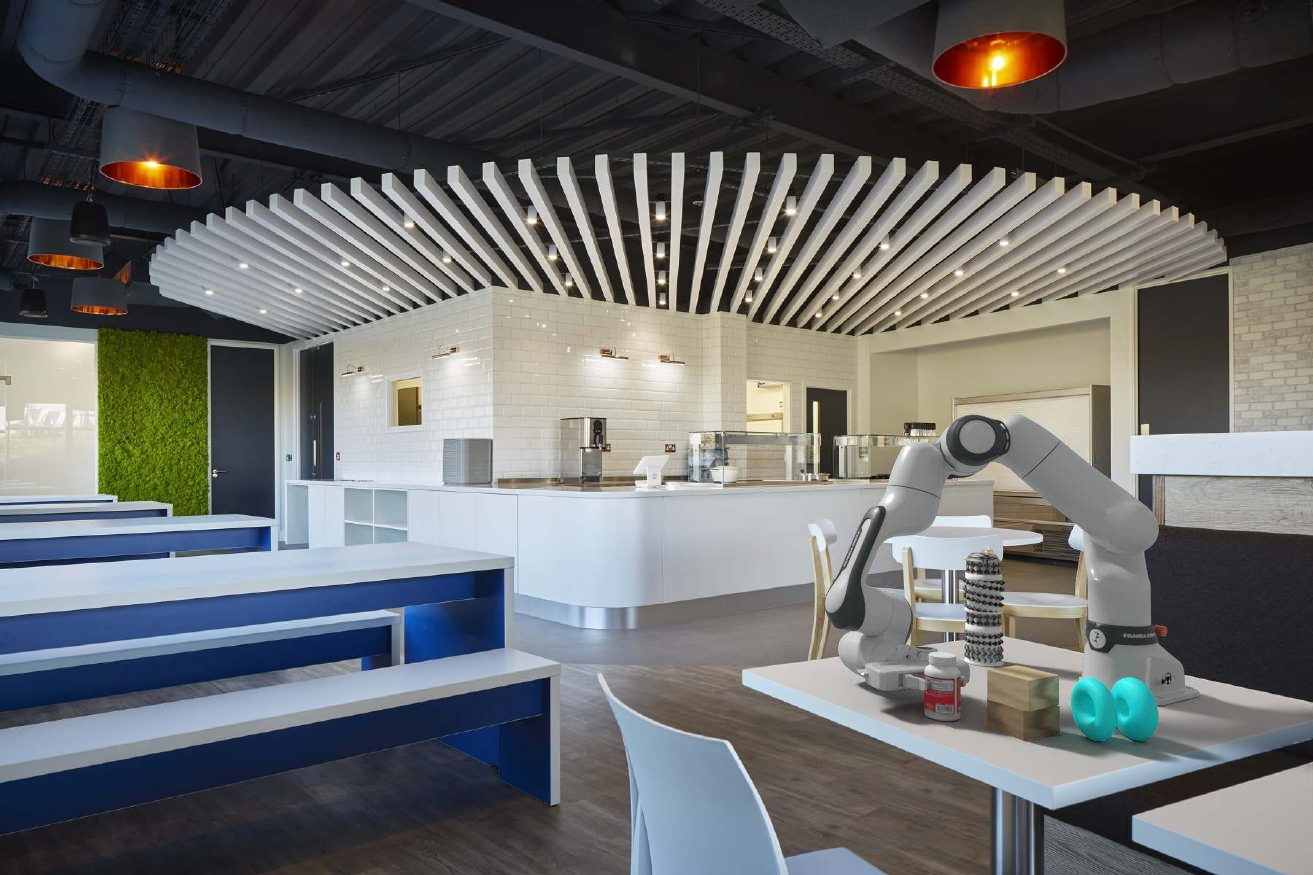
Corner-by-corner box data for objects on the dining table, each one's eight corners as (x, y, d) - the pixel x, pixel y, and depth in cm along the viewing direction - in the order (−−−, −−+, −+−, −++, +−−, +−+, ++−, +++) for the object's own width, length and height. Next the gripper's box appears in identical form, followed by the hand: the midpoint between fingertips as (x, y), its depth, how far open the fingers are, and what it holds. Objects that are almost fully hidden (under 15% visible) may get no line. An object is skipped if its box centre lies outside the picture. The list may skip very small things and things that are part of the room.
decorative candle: (984, 668, 185) (984, 556, 186) (953, 659, 194) (953, 552, 195) (1014, 665, 189) (1014, 554, 190) (982, 656, 198) (982, 551, 199)
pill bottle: (942, 710, 152) (942, 649, 153) (968, 719, 147) (968, 656, 147) (916, 714, 150) (916, 652, 150) (942, 723, 144) (942, 659, 145)
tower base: (1022, 722, 146) (1022, 693, 146) (1059, 736, 139) (1059, 706, 139) (986, 727, 143) (986, 698, 143) (1023, 741, 136) (1023, 710, 136)
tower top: (1017, 693, 147) (1017, 664, 147) (1059, 704, 140) (1059, 674, 140) (987, 699, 143) (987, 669, 143) (1028, 711, 136) (1028, 680, 136)
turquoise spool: (1163, 749, 133) (1162, 685, 133) (1103, 749, 132) (1102, 686, 132) (1123, 729, 142) (1122, 670, 143) (1067, 730, 142) (1066, 671, 142)
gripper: (851, 653, 157) (896, 670, 144) (939, 646, 164) (990, 662, 151) (851, 687, 157) (896, 707, 144) (939, 678, 164) (990, 697, 151)
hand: (945, 683), depth 148 cm, fingers closed on pill bottle, 6 cm apart
